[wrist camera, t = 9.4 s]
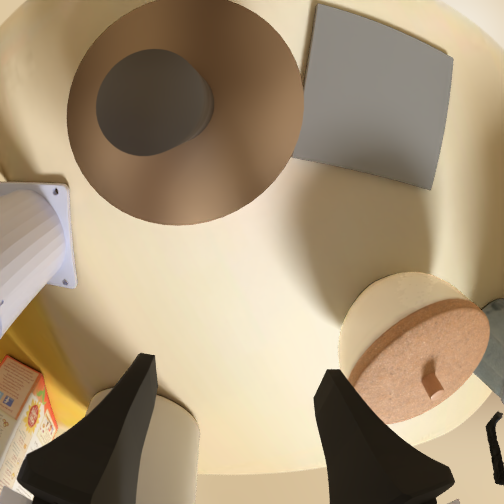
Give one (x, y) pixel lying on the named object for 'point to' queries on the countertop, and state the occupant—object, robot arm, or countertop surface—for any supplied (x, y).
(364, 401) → the robot arm
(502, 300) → the moka pot
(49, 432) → the cracker box
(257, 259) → the countertop surface
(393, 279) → the lidded jar
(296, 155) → the mat
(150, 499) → the cylinder vase
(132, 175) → the lid
